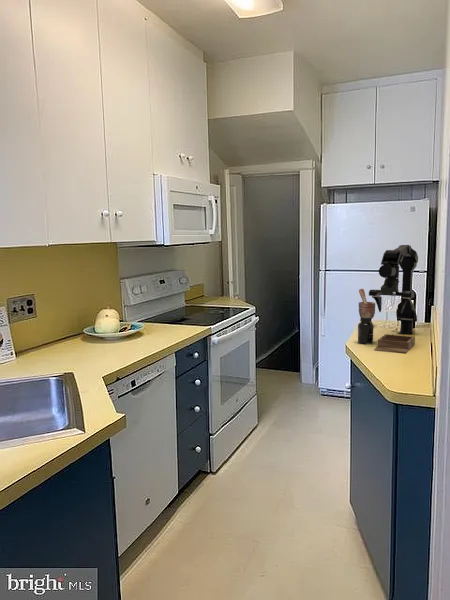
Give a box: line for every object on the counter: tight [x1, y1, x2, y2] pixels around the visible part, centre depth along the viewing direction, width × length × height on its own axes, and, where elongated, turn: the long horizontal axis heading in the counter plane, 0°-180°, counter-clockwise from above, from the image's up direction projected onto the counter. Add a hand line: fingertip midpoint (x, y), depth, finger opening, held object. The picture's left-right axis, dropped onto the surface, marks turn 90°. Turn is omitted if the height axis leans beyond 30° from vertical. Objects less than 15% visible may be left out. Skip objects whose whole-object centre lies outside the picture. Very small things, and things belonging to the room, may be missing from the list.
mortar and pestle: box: [358, 288, 376, 328], centre depth 258 cm, size 12×9×20 cm
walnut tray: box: [374, 333, 416, 354], centre depth 211 cm, size 18×13×4 cm
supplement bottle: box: [357, 316, 374, 345], centre depth 221 cm, size 7×7×12 cm
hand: (390, 312), depth 216 cm, fingers open, 9 cm apart
